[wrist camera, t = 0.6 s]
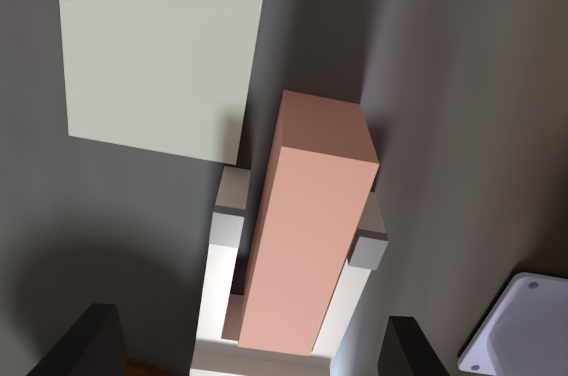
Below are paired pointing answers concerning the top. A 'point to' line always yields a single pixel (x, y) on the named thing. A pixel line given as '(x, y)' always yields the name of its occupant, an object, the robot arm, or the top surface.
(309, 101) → the salmon pink rectangular prism
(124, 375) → the food container
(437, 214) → the top surface
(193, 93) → the white rectangular board
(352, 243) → the white u-shaped piece
